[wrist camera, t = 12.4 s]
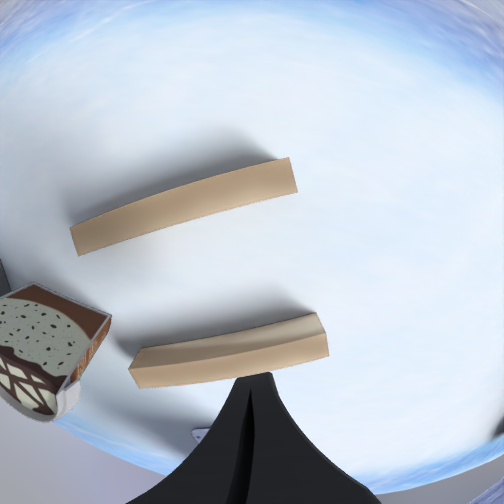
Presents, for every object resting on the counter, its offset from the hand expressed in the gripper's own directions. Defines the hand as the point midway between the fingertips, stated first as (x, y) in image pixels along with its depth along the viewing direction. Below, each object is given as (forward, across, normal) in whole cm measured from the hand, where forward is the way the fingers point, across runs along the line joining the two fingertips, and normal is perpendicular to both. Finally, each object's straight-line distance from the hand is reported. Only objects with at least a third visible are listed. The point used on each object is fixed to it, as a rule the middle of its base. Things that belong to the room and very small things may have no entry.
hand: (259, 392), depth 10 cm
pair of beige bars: (+10, +3, -2) cm, 11 cm away
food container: (+10, +17, -1) cm, 20 cm away
